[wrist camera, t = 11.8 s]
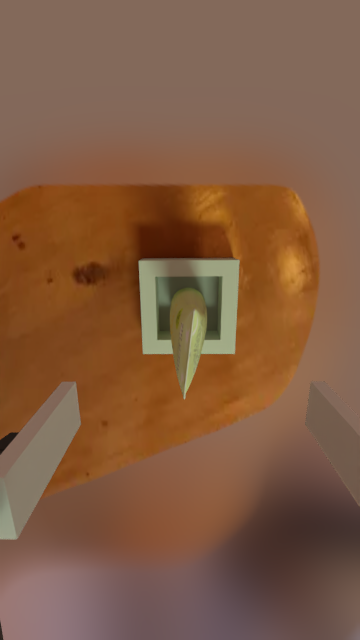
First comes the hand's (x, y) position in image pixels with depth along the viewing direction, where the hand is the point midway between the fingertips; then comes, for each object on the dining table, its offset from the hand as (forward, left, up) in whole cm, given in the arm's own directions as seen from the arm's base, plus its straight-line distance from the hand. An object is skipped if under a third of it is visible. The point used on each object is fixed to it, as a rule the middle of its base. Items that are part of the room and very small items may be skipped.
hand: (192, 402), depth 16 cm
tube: (0, 0, -26) cm, 26 cm away
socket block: (0, 0, -26) cm, 26 cm away
